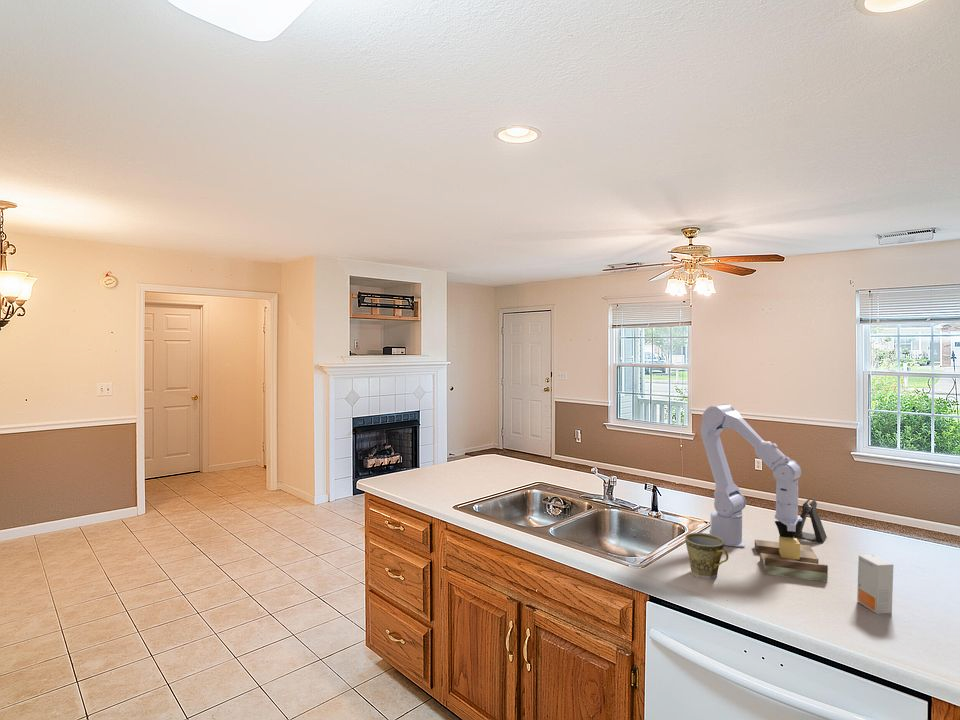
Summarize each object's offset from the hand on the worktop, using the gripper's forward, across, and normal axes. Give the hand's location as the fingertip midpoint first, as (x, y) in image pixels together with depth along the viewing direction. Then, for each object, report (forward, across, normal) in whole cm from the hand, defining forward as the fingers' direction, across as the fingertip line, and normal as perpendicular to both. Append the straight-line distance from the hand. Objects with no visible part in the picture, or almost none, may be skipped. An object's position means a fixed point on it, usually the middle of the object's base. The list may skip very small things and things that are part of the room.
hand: (785, 547), depth 159 cm
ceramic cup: (+3, -21, +23) cm, 31 cm away
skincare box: (+4, -26, -14) cm, 30 cm away
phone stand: (+4, +21, -10) cm, 24 cm away
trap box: (+3, -4, 0) cm, 5 cm away
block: (+1, -4, 0) cm, 4 cm away
